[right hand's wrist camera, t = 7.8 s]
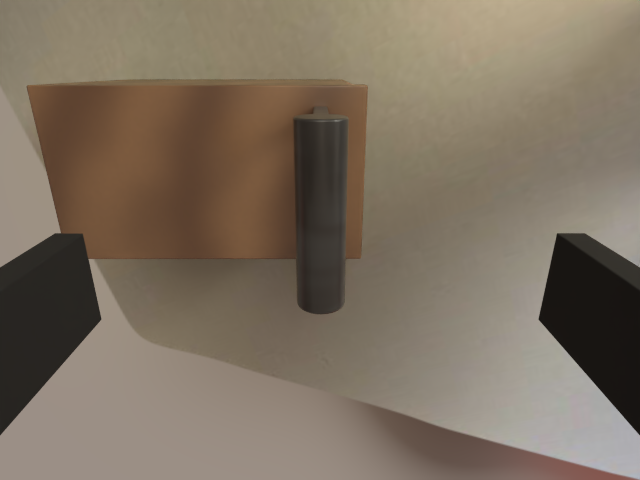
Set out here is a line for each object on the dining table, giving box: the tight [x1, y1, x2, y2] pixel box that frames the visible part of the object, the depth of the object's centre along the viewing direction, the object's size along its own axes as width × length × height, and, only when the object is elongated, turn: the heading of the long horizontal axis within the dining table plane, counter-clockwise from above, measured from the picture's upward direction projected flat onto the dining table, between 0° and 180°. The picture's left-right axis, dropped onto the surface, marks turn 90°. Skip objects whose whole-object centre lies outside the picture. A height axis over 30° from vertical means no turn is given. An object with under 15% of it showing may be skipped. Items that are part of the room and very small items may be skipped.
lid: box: [27, 85, 368, 314], centre depth 20 cm, size 17×9×9 cm, turn 90°
